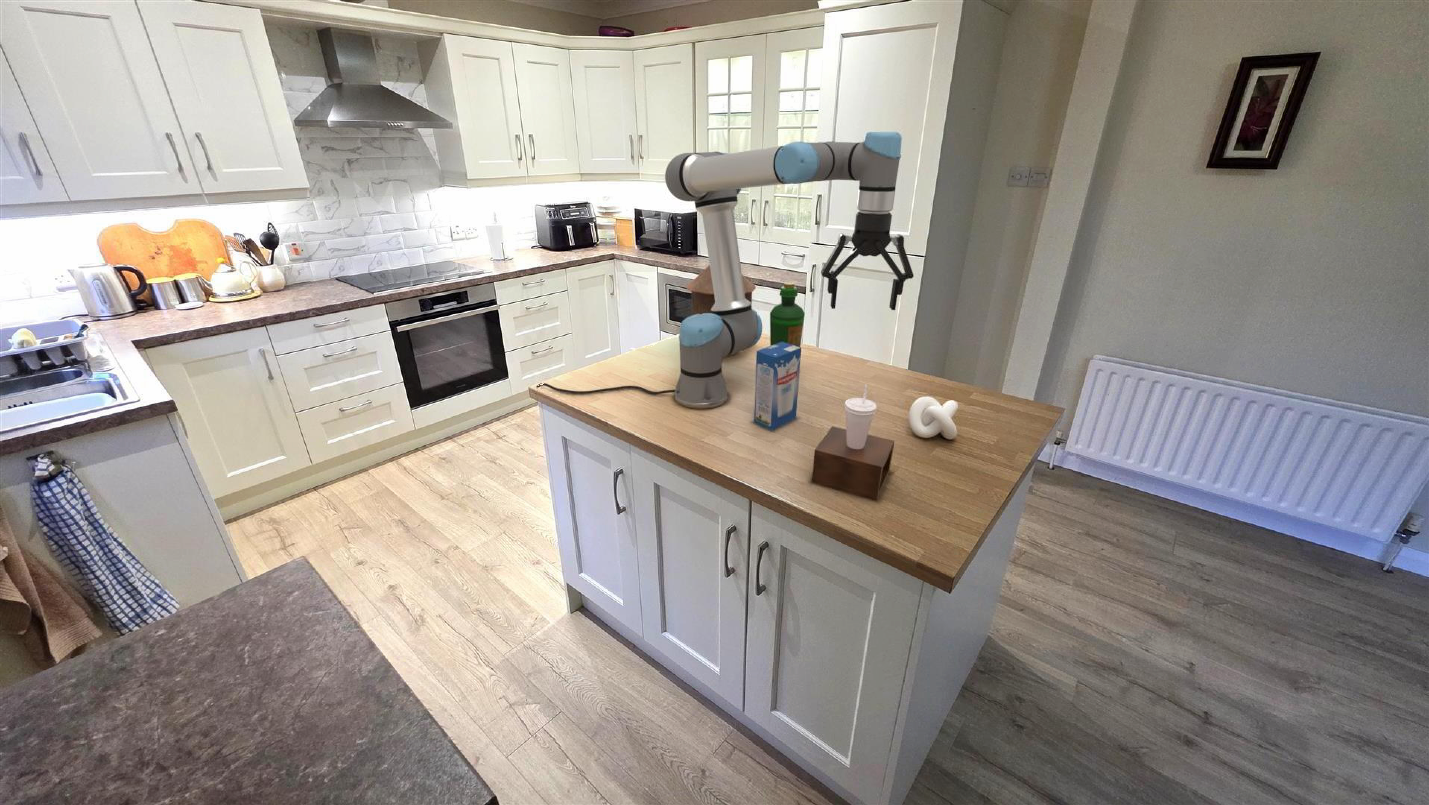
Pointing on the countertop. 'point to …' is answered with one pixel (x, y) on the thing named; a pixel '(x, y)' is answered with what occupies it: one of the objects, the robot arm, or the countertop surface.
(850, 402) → the smoothie
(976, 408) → the countertop surface
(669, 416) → the countertop surface
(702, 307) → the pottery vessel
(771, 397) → the milk carton
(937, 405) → the white knot sculpture
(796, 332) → the bottle
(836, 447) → the open-ended wooden box
